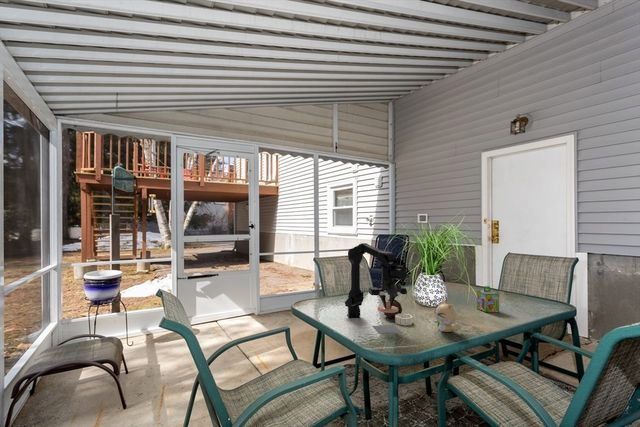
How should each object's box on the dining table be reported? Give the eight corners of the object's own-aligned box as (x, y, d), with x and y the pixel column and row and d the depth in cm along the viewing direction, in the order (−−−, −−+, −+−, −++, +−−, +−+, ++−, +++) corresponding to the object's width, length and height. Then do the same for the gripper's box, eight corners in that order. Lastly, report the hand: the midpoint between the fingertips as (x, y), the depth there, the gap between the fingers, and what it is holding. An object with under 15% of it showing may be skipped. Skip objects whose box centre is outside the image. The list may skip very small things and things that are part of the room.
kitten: (429, 326, 165) (429, 297, 166) (447, 325, 166) (447, 297, 166) (442, 336, 150) (442, 305, 151) (462, 336, 151) (462, 305, 151)
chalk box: (486, 313, 187) (486, 288, 188) (476, 309, 196) (476, 285, 197) (500, 312, 189) (499, 287, 189) (489, 308, 198) (488, 284, 198)
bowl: (399, 326, 165) (399, 319, 165) (392, 321, 173) (392, 313, 174) (415, 325, 166) (415, 318, 166) (408, 320, 175) (408, 313, 175)
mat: (379, 335, 152) (379, 334, 152) (372, 327, 164) (372, 326, 164) (403, 334, 154) (403, 332, 154) (393, 325, 166) (393, 324, 166)
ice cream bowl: (402, 316, 185) (402, 321, 171) (383, 315, 188) (381, 319, 174) (402, 298, 187) (402, 301, 172) (383, 297, 190) (381, 299, 175)
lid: (381, 313, 154) (381, 304, 154) (374, 307, 164) (374, 298, 164) (401, 312, 155) (401, 303, 155) (393, 306, 165) (393, 298, 166)
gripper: (375, 280, 151) (375, 313, 150) (411, 279, 153) (411, 311, 153) (368, 276, 162) (368, 306, 161) (402, 275, 164) (402, 305, 164)
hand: (387, 307), depth 160 cm, fingers closed on lid, 3 cm apart
